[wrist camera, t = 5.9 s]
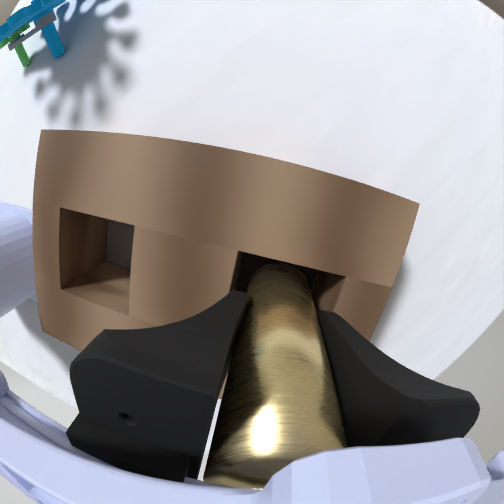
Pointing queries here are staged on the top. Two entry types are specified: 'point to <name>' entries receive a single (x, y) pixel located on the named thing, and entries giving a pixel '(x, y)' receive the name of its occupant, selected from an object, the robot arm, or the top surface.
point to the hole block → (199, 231)
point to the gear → (43, 21)
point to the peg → (275, 386)
